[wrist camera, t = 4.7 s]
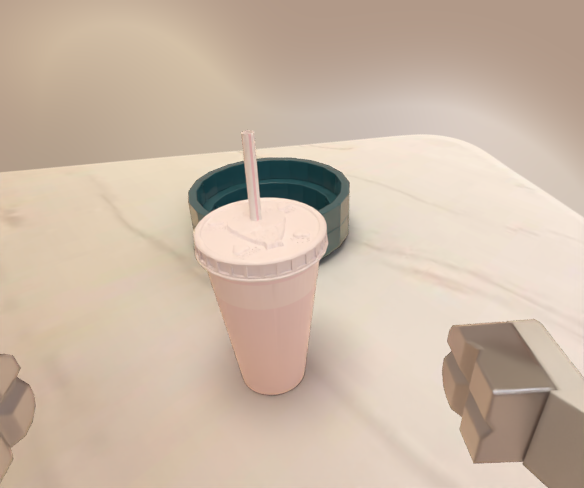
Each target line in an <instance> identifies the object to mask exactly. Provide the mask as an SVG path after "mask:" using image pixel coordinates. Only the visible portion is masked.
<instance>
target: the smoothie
mask: <svg viewBox="0 0 584 488" xmlns="http://www.w3.org/2000/svg"><path fill="white" fill-rule="evenodd" d="M241 136H242V145H243V155H244V165H245V174H246V184H247V193H248V199H247V200H241V201H237V202H233V203H230V204H227V205H225V206H222V207H220V208H218V209H216V210H214V211H212V212H210V213H209V214H208V215H206V216H205V217H204V218H203V219H202V220H201V221H200V222H199V223H198V224H197V226H196V227H195V230H194V233H193V239H194V245H195V249H194V250H195V255H196V260H197V261H198V262H199V264H200V265H201V266H202V267H203V268H204V269H205V270H207V272H208V275H209V278H210V281H211V285H212V288H213V290H214V293H215V296H216V299H217V302H218V305H219V308H220V311H221V314H222V317H223V320H224V323H225V326H226V329H227V332H228V335H229V338H230V341H231V344H232V347H233V350H234V353H235V356H236V359H237V362H238V365H239V368H240V371H241V374H242V377H243V380H244V382H245V383H246V385H247V386H248V387H249V388H250V389H252V390H253V391H255V392H258V393H260V394H265V395H277V394H282V393H285V392H288V391H290V390H292V389H293V388H295V387H296V386H297V385H298V384H299V383H300V382H301V380H302V378H303V376H304V373H305V366H306V358H307V351H308V343H309V336H310V328H311V320H312V313H313V305H314V298H315V290H316V282H317V277H318V268H319V260H320V259H321V258H322V257H323V255H324V254H325V252H326V249H327V246H328V238H327V224H326V221H325V219H324V217H323V216H322V215H321V214H320V213H319V212H318V211H317V210H316V209H314V208H313V207H311V206H309V205H307V204H305V203H301V202H298V201H295V200H290V199H284V198H260V193H259V182H258V171H257V160H256V149H255V139H254V131H251V130H247V131H242V132H241Z"/></svg>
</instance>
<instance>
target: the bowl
mask: <svg viewBox="0 0 584 488" xmlns="http://www.w3.org/2000/svg"><path fill="white" fill-rule="evenodd" d="M256 160H257V171H258V182H259V193H260V198H284V199H290V200H295V201H298V202H301V203H305V204H307V205H309V206H311V207H313V208H314V209H316V210H317V211H318V212H319V213H320V214H321V215H322V216H323V217H324V219H325V221H326V224H327V238H328V246H327V249H326V252H325V254H324V255H323V257H322V258H324V257H325V256H327V255H328V254H330V253H331V252H333V251H334V250H336V249H337V248H339V247H340V245H341V244H342V242H343V241H344V239H345V238H346V236H347V235H348V226H349V187H350V182H349V181H348V180H347V178H346V177H345V176H344V175H343V173H342V172H340V171H338V170H336V169H335V168H333V167H331V166H329V165H326V164H322V163H319V162H316V161H312V160H305V159H297V158H261V159H256ZM247 199H248V193H247V184H246V174H245V165H244V161H241V162H237V163H233V164H228V165H226V166H223V167H221V168H218V169H216V170H213V171H211V172H208V173H207V174H205V175H204V176H202V177H201V178H199V179H198V180H196V182H195V183H194V184H193V186H192V187H191V188H190V190H189V192H188V203H189V208H190V214H191V219H192V225H193V230H195V227H196V226H197V224H198V223H199V222H200V221H201V220H202V219H203V218H204V217H205V216H206V215H208V214H209V213H210V212H212V211H214V210H216V209H218V208H220V207H222V206H225V205H227V204H230V203H233V202H237V201H241V200H247ZM322 258H321V259H322Z"/></svg>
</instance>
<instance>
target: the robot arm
mask: <svg viewBox="0 0 584 488" xmlns="http://www.w3.org/2000/svg"><path fill="white" fill-rule="evenodd" d="M447 342H448V344H449V346H450V348H451V352H450V353H449V354H448V355H447V356H446V357H445V358H444V361H443V368H442V377H443V387H444V390H445V394H446V398H447V400H448V403H449V405H450V408H451V409H452V410H453V411H455V412H456V413H457V414H459V415H460V416H461V417H462V421H461V425H460V432H461V434H462V437H463V439H464V442H465V444H466V446H467V449H468V451H469V453H470V456H471V458H472V461H473V463H501V462H523V465H524V466H525V467H526V468H527V469H528V470H529V471H530V472H531V473H533V474H534V475H535V476H536V477H537V478H538V479H539V480H540V481H541V482H542V483H543V484H544V485H546V486H547V487H548V488H584V377H583V376H582V375H581V373H580V372H579V371H578V370H577V368H576V367H575V366H574V364H573V363H572V362H571V361H570V359H569V358H568V357H567V356H566V354H565V353H564V352H563V350H562V349H561V348H560V347H559V345H558V344H557V343H556V342H555V340H554V339H553V338H552V336H551V335H550V334H549V333H548V331H547V330H546V329H545V327H544V326H543V325H542V324H541V323H540V322H539V321H537V320H535V319H529V320H516V321H507V322H492V323H478V324H464V325H453V326H452V327H451V329H450V330H449V334H448V339H447ZM19 371H20V366H19V365H18V363H17V361H16V360H15V358H14V356H13V355H8V354H0V483H1V481H2V479H3V477H4V476H5V474H6V472H7V470H8V468H9V466H10V464H11V462H12V461H13V454H12V450H11V447H13V446H14V445H15V444H16V443H18V442H19V441H20V440H21V439H22V438H24V437H25V436H26V434H27V432H28V430H29V428H30V426H31V424H32V422H33V418H34V412H35V407H36V404H35V398H34V393H33V391H32V389H31V387H30V385H29V384H27V383H26V382H24V381H22V380H21V379H19V378H18V377H17V375H18V373H19Z"/></svg>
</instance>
